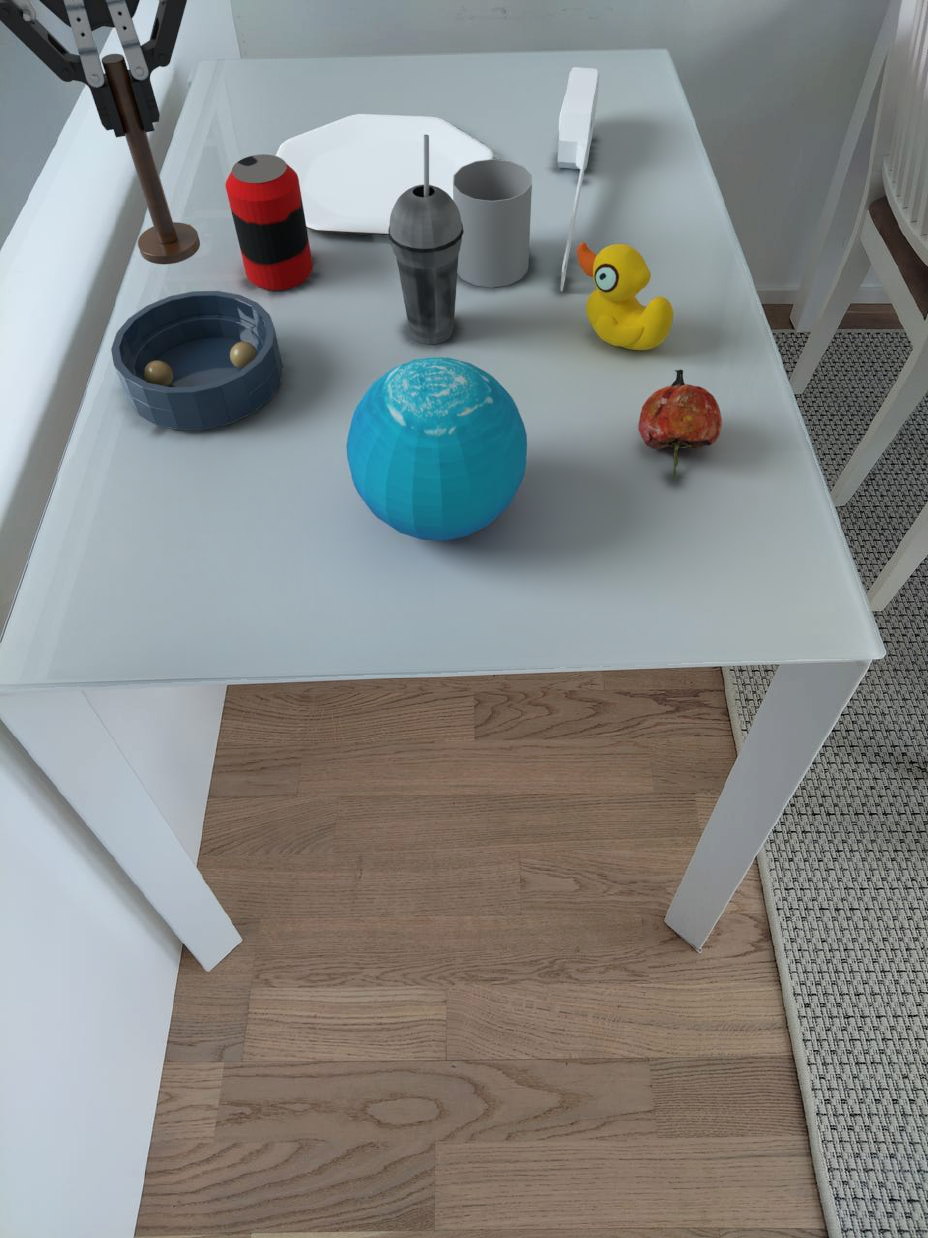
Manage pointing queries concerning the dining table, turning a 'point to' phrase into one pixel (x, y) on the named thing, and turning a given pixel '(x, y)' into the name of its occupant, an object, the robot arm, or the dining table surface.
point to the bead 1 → (158, 373)
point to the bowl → (198, 359)
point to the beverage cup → (427, 256)
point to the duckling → (623, 298)
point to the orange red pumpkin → (680, 418)
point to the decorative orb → (437, 448)
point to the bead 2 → (242, 354)
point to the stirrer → (148, 175)
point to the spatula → (577, 133)
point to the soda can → (269, 222)
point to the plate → (373, 167)
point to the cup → (493, 221)
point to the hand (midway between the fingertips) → (134, 128)
